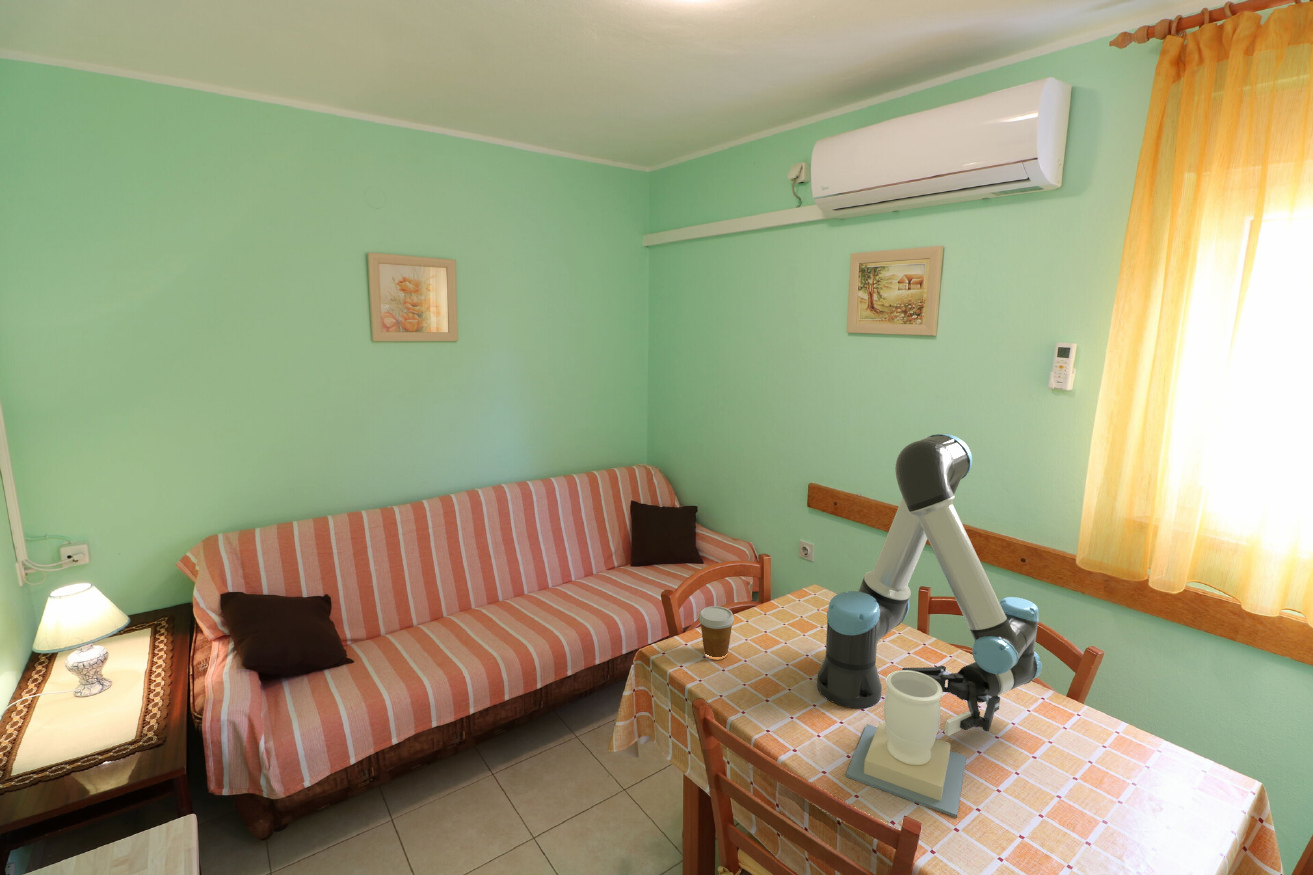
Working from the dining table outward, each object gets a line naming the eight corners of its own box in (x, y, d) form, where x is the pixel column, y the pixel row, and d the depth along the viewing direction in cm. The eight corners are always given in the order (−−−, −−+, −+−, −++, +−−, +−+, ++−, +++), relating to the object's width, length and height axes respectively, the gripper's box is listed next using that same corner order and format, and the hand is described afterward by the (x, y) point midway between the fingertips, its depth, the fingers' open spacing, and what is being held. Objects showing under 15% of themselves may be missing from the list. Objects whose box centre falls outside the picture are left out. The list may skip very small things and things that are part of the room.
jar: (932, 777, 117) (938, 706, 114) (875, 757, 122) (880, 689, 120) (940, 745, 126) (946, 678, 123) (887, 727, 131) (892, 663, 128)
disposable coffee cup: (692, 657, 166) (692, 616, 163) (708, 642, 174) (708, 602, 171) (724, 667, 161) (725, 625, 158) (739, 651, 169) (740, 610, 166)
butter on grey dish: (845, 776, 122) (846, 760, 122) (866, 726, 137) (867, 711, 137) (956, 817, 112) (958, 800, 111) (966, 758, 127) (967, 742, 127)
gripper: (1041, 728, 122) (972, 764, 112) (933, 667, 144) (867, 693, 134) (1045, 694, 121) (976, 727, 111) (935, 637, 142) (869, 661, 132)
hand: (916, 708), depth 122 cm, fingers open, 13 cm apart
